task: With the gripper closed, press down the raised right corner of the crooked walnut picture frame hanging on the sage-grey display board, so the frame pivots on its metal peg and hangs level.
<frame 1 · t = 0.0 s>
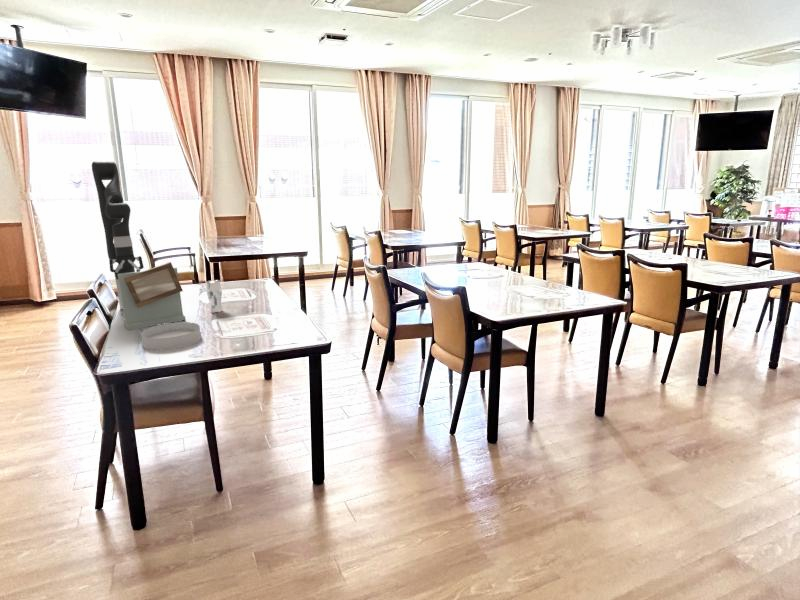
hand: (128, 279, 248), 17 cm above the table, tool pointing down, fingers open, 8 cm apart
dish: (172, 342, 208), on the table
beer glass: (216, 311, 252), on the table
display board: (155, 322, 235), on the table
frame: (154, 284, 228), point 18 cm above the table, hinge at 14.0°
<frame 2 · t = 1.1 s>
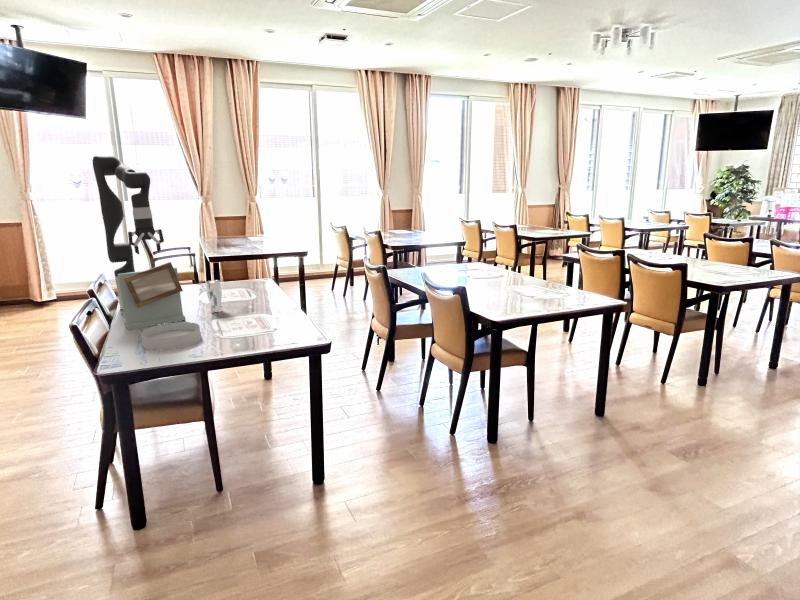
hand: (148, 253, 236), 31 cm above the table, tool pointing down, fingers open, 8 cm apart
nothing on the table moved.
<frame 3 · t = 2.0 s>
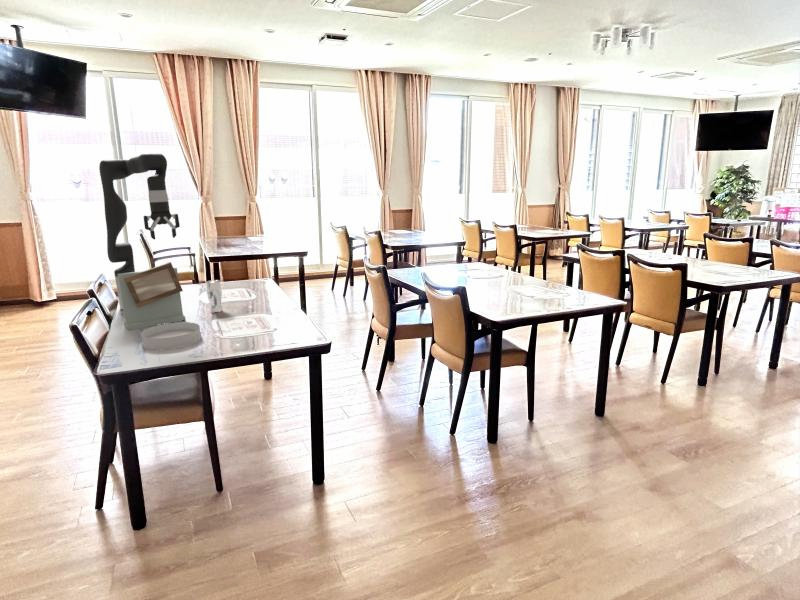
hand: (164, 238, 227), 38 cm above the table, tool pointing down, fingers open, 7 cm apart
nothing on the table moved.
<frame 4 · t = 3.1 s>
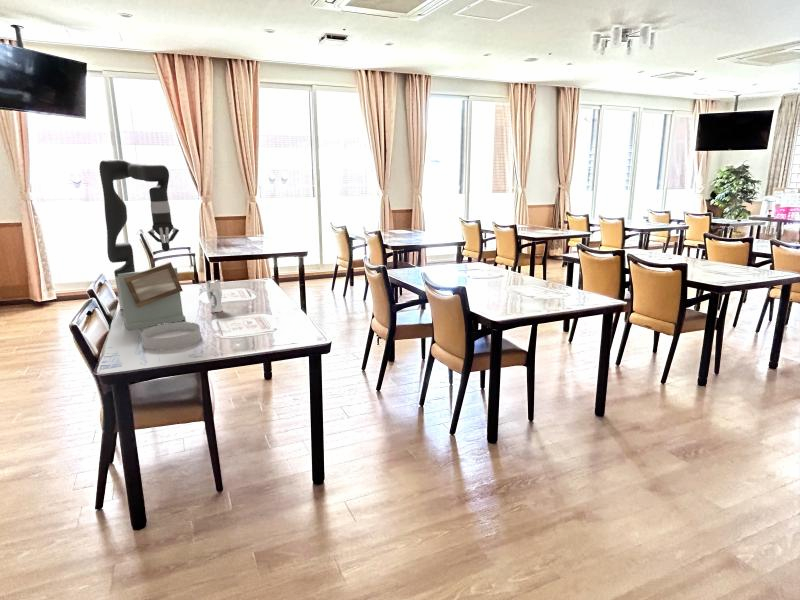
hand: (166, 251, 229), 33 cm above the table, tool pointing down, fingers closed
nothing on the table moved.
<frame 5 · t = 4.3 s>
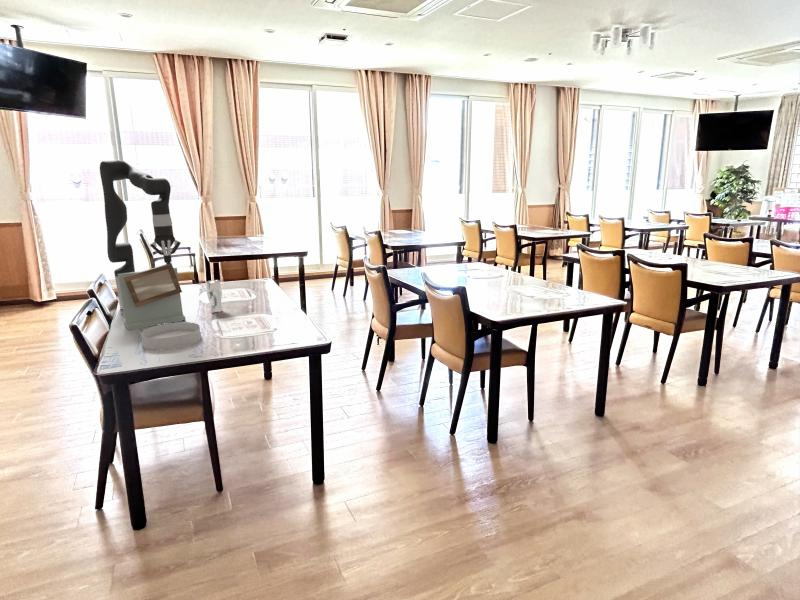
hand: (168, 263, 230), 27 cm above the table, tool pointing down, fingers closed
frame: (153, 284, 228), point 18 cm above the table, hinge at 11.6°, touching gripper
everything else where it was.
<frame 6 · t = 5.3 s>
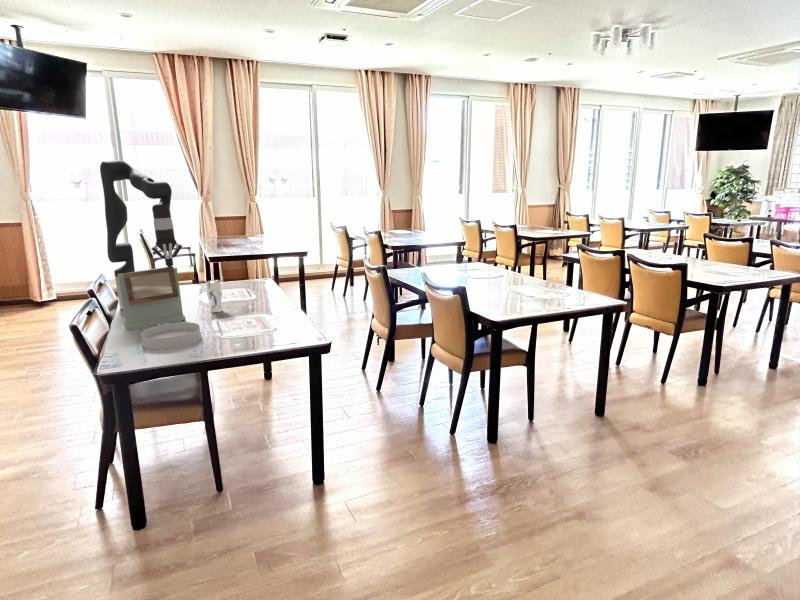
hand: (169, 266, 231), 25 cm above the table, tool pointing down, fingers closed
frame: (151, 285, 228), point 18 cm above the table, hinge at 2.2°, touching gripper
everything else where it was.
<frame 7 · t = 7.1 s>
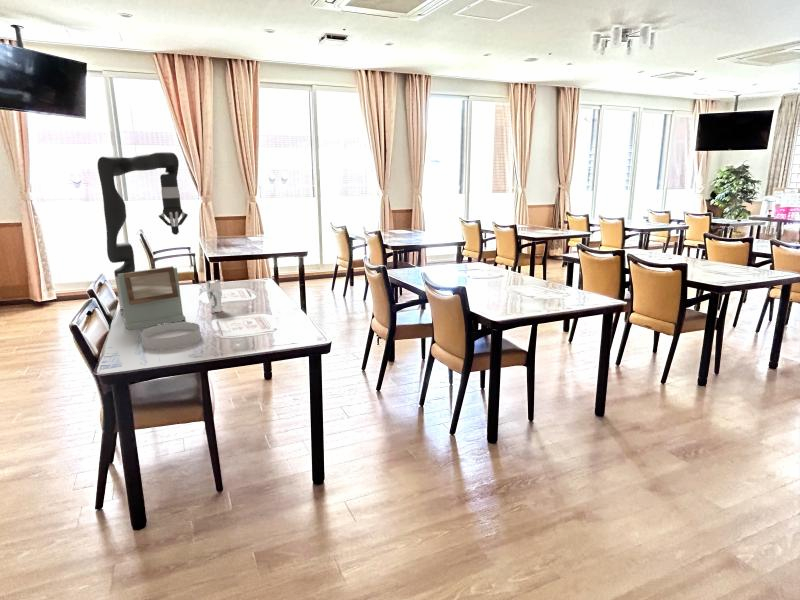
hand: (175, 234, 241), 38 cm above the table, tool pointing down, fingers closed
frame: (151, 285, 228), point 18 cm above the table, hinge at 2.2°
everything else where it was.
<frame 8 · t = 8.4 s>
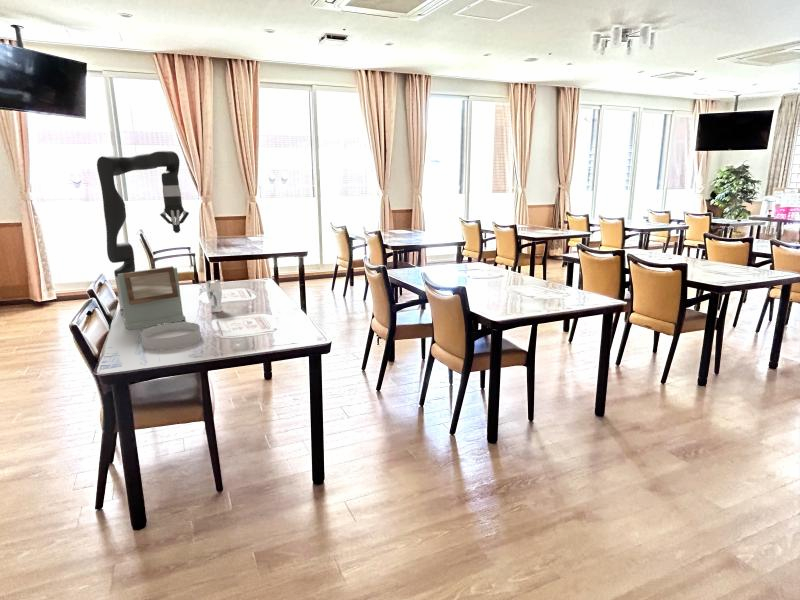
hand: (176, 232, 243), 39 cm above the table, tool pointing down, fingers closed
nothing on the table moved.
at the end: frame at +2° (first picture: +14°); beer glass moved 0.2 cm from its start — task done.
